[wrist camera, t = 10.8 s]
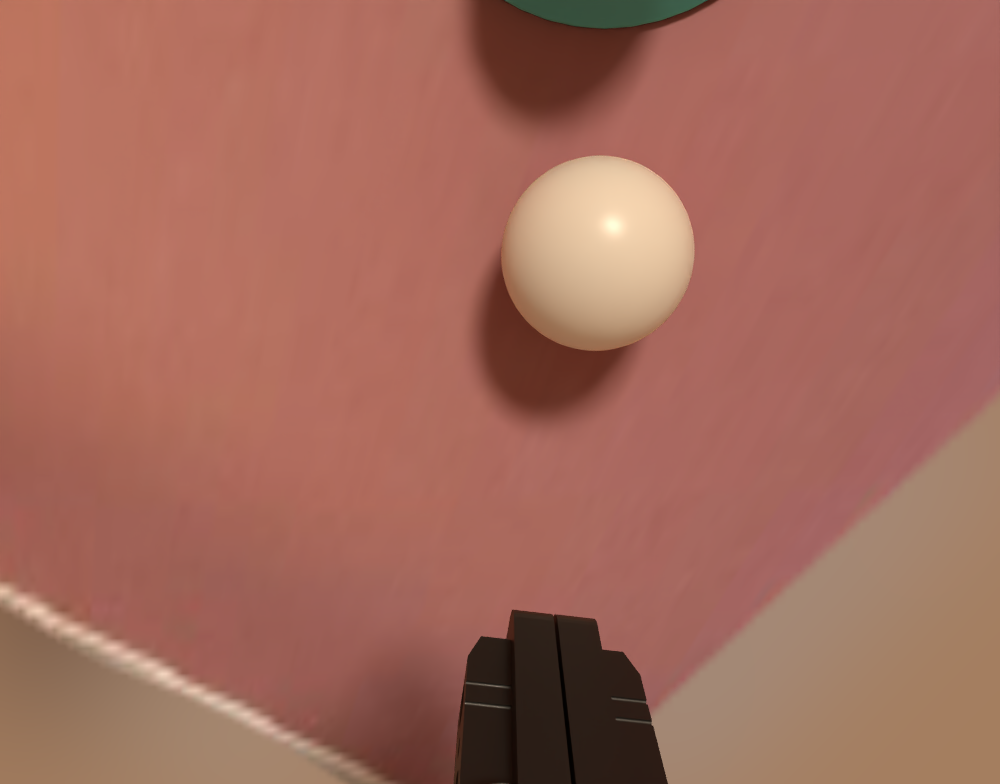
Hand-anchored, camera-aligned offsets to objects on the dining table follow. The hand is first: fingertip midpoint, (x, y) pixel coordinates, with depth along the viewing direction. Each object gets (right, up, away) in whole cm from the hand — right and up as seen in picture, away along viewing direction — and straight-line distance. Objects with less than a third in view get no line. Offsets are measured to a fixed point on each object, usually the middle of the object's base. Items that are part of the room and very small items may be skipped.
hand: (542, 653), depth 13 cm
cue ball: (+2, +9, +9) cm, 13 cm away
